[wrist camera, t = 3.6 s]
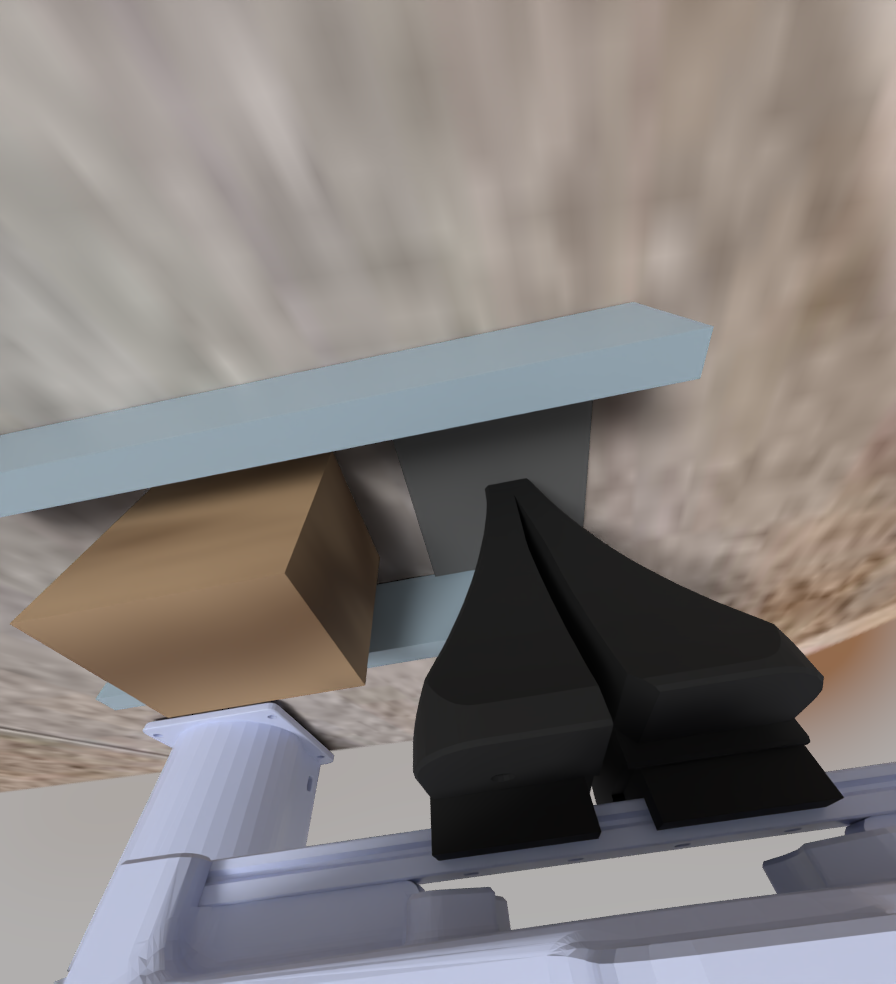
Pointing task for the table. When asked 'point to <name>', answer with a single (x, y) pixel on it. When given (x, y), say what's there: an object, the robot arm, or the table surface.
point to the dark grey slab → (492, 474)
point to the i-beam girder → (356, 430)
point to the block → (222, 591)
